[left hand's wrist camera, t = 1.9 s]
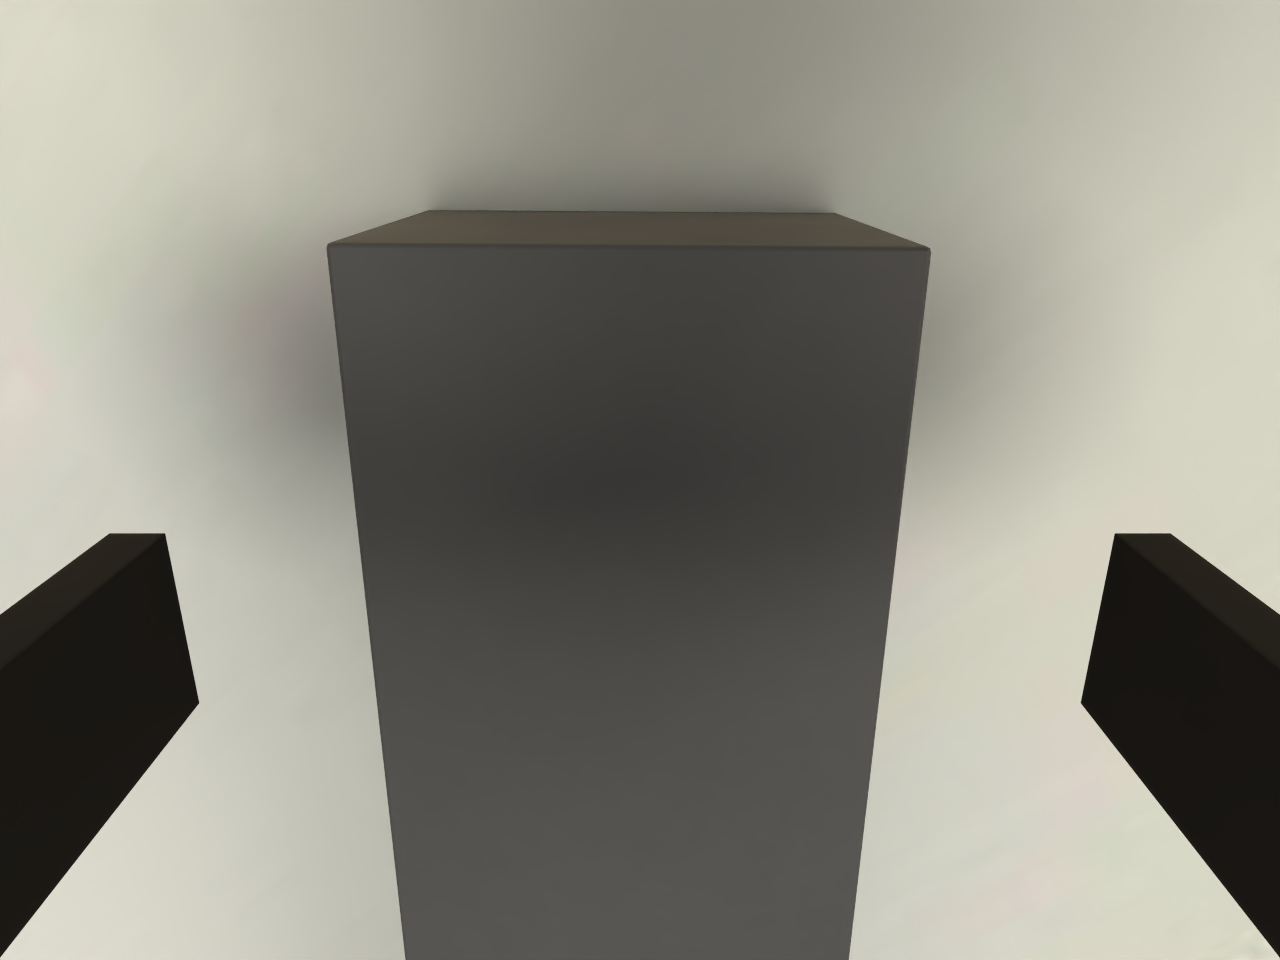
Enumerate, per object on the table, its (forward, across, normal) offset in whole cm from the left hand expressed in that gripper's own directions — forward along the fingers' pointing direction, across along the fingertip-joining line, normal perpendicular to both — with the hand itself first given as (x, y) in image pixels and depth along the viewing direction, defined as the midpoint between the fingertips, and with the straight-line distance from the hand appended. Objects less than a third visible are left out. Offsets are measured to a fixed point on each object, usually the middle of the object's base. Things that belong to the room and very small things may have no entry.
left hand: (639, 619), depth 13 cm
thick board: (+11, 0, -30) cm, 32 cm away
